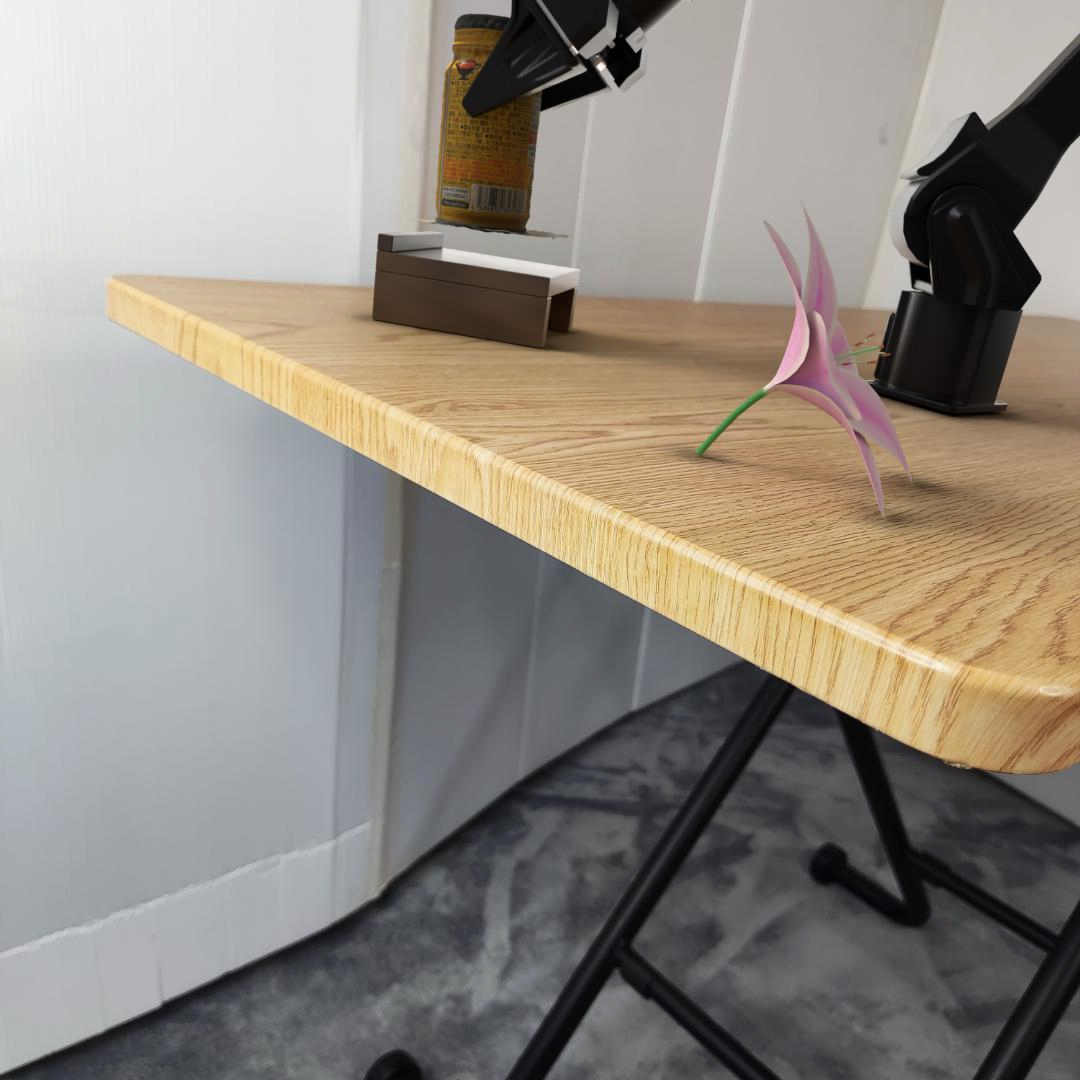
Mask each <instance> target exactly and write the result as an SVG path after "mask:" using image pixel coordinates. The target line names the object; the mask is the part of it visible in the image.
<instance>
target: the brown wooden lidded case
mask: <svg viewBox="0 0 1080 1080" xmlns="http://www.w3.org/2000/svg"><path fill="white" fill-rule="evenodd" d="M444 239H445V233H444V232H441V231H431V230H430V231H429V230H428V231H405V232H381V233H378V234H377V244H376V246H377V247H376V257H375V271H374V283H373V284H374V286H373V298H372V299H373V300H372V313H371V319H372V320H373V321H380V322H385V323H393V324H398V325H403V326H409V327H415V328H421V329H426V330H427V329H428V330H432V331H439V332H443V333H450V334H456V335H462V336H468V337H473V338H479V339H485V340H490V341H495V342H501V343H502V342H503V343H508V344H513V345H514V344H515V345H520V346H526V347H531V348H537V349H541V348H544V347H545V346H546V340H547V333H548V330H553V331H559V332H564V333H569V332H571V331H572V330H573V324H574V317H575V310H576V303H577V296H578V290H579V289H578V287H579V282H580V274H581V269H580V268H573V267H567V266H562V265H555V264H548V263H542V262H537V261H536V262H535V261H529V260H522V259H516V258H510V257H503V256H498V255H492V254H491V255H490V254H486V253H485V254H484V253H478V252H472V251H465V250H459V249H454V248H453V249H452V248H447V247H446V248H445V247H444Z"/></svg>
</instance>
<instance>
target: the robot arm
mask: <svg viewBox="0 0 1080 1080" xmlns="http://www.w3.org/2000/svg"><path fill="white" fill-rule="evenodd" d="M684 1H685V0H511V3H510V4H511V7H510V9H511V10H510V17H509V18H510V20H509V22H508V24H507V26H506V28H505V29H504V31H503V33H502V35H501V37H500V38H499V40H498V42H497V43H496V45H495V47H494V48H493V50H492V52H491V53H490V55H489V57H488V58H487V60H486V62H485V63H484V65H483V66H482V68H481V70H480V71H479V73H478V75H477V76H476V78H475V80H474V81H473V83H472V84H471V86H470V88H469V89H468V91H467V93H466V94H465V96H464V98H463V99H462V102H461V104H462V106H463V108H464V109H465V111H466V112H467V113H468V115H469V116H470V117H473V118H475V117H477V116H480V115H482V114H485V113H488V112H490V111H493V110H495V109H498V108H500V107H502V106H505V105H507V104H509V103H512V102H514V101H517V100H519V99H521V98H524V97H526V96H528V95H531V94H533V93H535V92H538V91H540V90H542V95H541V108H540V115H541V114H545V113H549V112H551V111H555V110H557V109H560V108H564V107H566V106H570V105H573V104H577V103H579V102H583V101H587V100H589V99H590V100H591V99H593V98H596V97H600V96H603V95H609V94H611V93H612V92H613V89H612V87H611V86H610V85H609V83H608V81H607V80H606V78H605V77H604V76H603V74H602V73H601V72H602V71H603V70H604V69H605V68H606V69H607V71H608V73H609V74H610V76H611V77H612V78H613V83H614V84H615V85H616V87H617V88H618V89H619V91H621V92H622V93H623V94H625V93H626V92H627V91H628V90H629V89H630V88H632V87H633V86H634V85H636V83H638V81H640V80H641V79H642V78H643V77H644V76H646V73H647V67H648V61H649V52H648V50H647V49H646V48H645V46H646V45H647V44H648V43H649V42H650V40H649V39H648V37H647V36H646V35H647V34H648V33H650V31H651V30H653V29H654V28H655V27H656V26H657V25H658V24H659V23H660V22H662V21H663V20H664V19H665V18H666V17H667V16H669V14H671V13H672V12H673V11H674V10H676V8H677V7H678V6H680V5H681V4H682V3H683V2H684ZM695 1H696V0H688V2H689V3H690V5H692V4H693V3H694V2H695ZM1078 138H1080V32H1079V33H1078V34H1077V35H1076V36H1075V37H1074V38H1073V39H1072V41H1070V42H1069V44H1067V45H1066V47H1064V48H1063V50H1061V52H1059V54H1058V55H1057V56H1056V57H1055V58H1054V59H1053V60H1052V61H1051V62H1050V63H1049V64H1048V65H1047V66H1046V68H1045V69H1044V70H1043V71H1042V72H1041V73H1040V74H1039V75H1038V76H1037V77H1036V78H1035V79H1034V80H1033V81H1032V82H1031V83H1030V84H1029V85H1028V86H1027V87H1026V88H1025V89H1024V90H1023V92H1021V93H1020V95H1019V96H1018V97H1017V98H1016V99H1014V101H1013V102H1011V103H1010V105H1008V107H1006V108H1005V109H1004V110H1003V111H1002V112H1000V113H999V114H998V115H996V116H995V117H993V118H992V119H991V120H989V121H988V122H986V123H984V122H983V120H982V118H981V117H980V116H979V114H978V113H977V112H976V111H972V112H969V113H968V114H965V115H963V116H961V117H958V118H956V119H954V120H952V121H951V122H949V123H948V125H947V126H946V127H945V128H944V130H943V131H942V133H941V134H940V135H939V137H938V139H937V140H936V141H935V143H934V144H933V145H932V147H931V148H930V150H929V151H928V153H926V155H925V156H924V157H923V158H922V159H921V160H920V161H919V162H918V163H916V164H915V165H914V166H912V167H909V168H908V169H907V170H904V171H902V172H901V173H900V174H899V179H900V180H904V181H908V182H907V183H906V184H905V185H904V186H902V188H901V189H900V191H899V192H898V193H897V195H896V196H895V198H894V199H893V201H892V203H891V205H890V208H889V215H888V232H889V236H890V239H891V243H892V245H893V247H894V248H895V249H896V250H897V252H898V253H899V254H900V256H901V257H903V258H904V259H906V260H907V264H908V275H909V285H910V288H911V289H912V290H908V289H901V290H900V293H899V298H898V302H897V305H896V310H895V311H894V312H891V313H890V314H889V315H888V316H887V317H888V318H887V321H886V325H885V329H884V332H883V336H882V340H881V344H882V345H883V346H884V347H883V349H879V352H884V353H886V354H888V353H890V355H889V356H881V355H882V354H878V356H877V360H876V361H877V363H875V368H874V371H873V377H874V379H865V380H866V381H867V383H868V384H869V385H870V386H871V387H872V388H873V390H874V391H875V392H876V393H877V394H882V395H886V396H889V397H893V398H896V399H899V400H903V401H907V402H910V403H913V404H917V405H920V406H924V407H928V408H931V409H935V410H937V411H941V412H946V413H949V414H969V413H971V414H972V413H988V412H989V413H991V412H1006V411H1007V410H1008V406H1009V403H1007V402H1004V401H1001V400H997V398H998V394H999V390H1000V387H1001V385H1002V381H1003V378H1004V374H1005V371H1006V368H1007V365H1008V361H1009V358H1010V355H1011V351H1012V349H1013V345H1014V342H1015V339H1016V335H1017V332H1018V328H1019V326H1020V322H1021V319H1022V316H1023V313H1024V309H1023V308H1024V306H1025V305H1026V304H1027V302H1028V301H1029V299H1030V297H1031V296H1033V293H1034V292H1035V291H1036V289H1037V288H1038V287H1039V285H1041V282H1042V280H1043V279H1042V278H1043V277H1042V274H1041V272H1040V271H1039V269H1038V267H1037V266H1036V265H1035V263H1034V261H1033V260H1032V258H1031V256H1029V254H1028V252H1027V250H1026V249H1025V248H1024V246H1023V244H1022V243H1021V241H1020V239H1019V238H1018V236H1017V235H1016V233H1015V232H1014V231H1015V230H1016V229H1017V228H1018V227H1019V225H1020V223H1021V222H1022V221H1023V219H1024V218H1025V217H1026V215H1028V213H1029V211H1030V210H1031V209H1032V207H1033V206H1034V205H1035V204H1036V202H1037V201H1038V200H1039V197H1040V196H1041V194H1042V193H1043V191H1044V189H1045V188H1046V186H1047V184H1048V182H1049V180H1050V179H1051V177H1052V175H1053V173H1054V172H1055V170H1056V168H1057V167H1058V166H1059V164H1060V161H1061V160H1062V159H1063V157H1064V155H1066V152H1068V150H1069V149H1070V147H1071V146H1072V145H1073V144H1074V142H1076V141H1077V140H1078Z"/></svg>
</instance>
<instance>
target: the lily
mask: <svg viewBox="0 0 1080 1080" xmlns="http://www.w3.org/2000/svg"><path fill="white" fill-rule="evenodd" d="M799 203H800V206H801V209H802V213H803V215H804V219H805V224H806V226H807V232H808V240H809V252H808V253H809V255H808V266H807V272H806V278H805V286H804V291H803V279H802V276H801V272H800V268H799V266H798V263H797V262H796V259H795V257H794V255H793V253H792V251H791V250H790V249H789V247H788V246H787V244H786V243H785V241H784V240H783V239H782V237H781V236H780V235H779V233H778V232H777V231H776V229H775V228H774V227H773V226H772V224H770V223H769V222H768V221H767V220H764V219H762V222H763V224H764V226H765V229H766V230H767V232H768V235H769V237H770V238H771V240H772V243H773V245H774V247H775V249H776V251H777V254H778V255H779V257H780V260H781V262H782V264H783V266H784V268H785V271H786V273H787V275H788V278H789V281H790V283H791V286H792V289H793V293H794V301H795V308H796V309H795V317H794V322H793V328H792V331H791V334H790V337H789V341H788V343H787V347H786V350H785V353H784V355H783V358H782V361H781V363H780V366H779V368H778V370H777V372H776V374H775V376H774V377H773V378H772V380H771V381H770V382H769V383H767V384H766V385H764V387H762V388H760V389H759V390H758V391H757V392H755V393H754V394H752V395H751V396H749V398H747V399H746V400H744V401H743V402H742V403H741V404H739V405H738V407H736V408H735V409H734V410H733V411H732V412H731V413H730V414H729V415H728V416H727V417H726V418H725V419H724V420H722V421H721V423H719V425H718V426H717V427H716V428H715V429H714V430H713V431H712V432H711V434H710V435H708V437H707V438H706V439H705V440H704V441H703V442H702V443H701V444H700V446H698V448H697V449H696V450H695V453H696V454H697V455H698V456H700V457H702V455H704V453H705V452H707V450H708V449H709V448H710V447H711V446H712V445H713V443H715V441H716V440H717V439H718V438H719V437H720V436H721V435H722V434H723V433H724V432H725V431H726V430H727V429H728V428H729V426H731V425H732V424H733V423H734V422H735V420H737V419H738V418H739V417H740V416H741V415H742V414H744V412H746V411H747V410H748V409H750V408H751V407H752V406H753V405H754V404H756V403H758V402H759V401H760V400H762V399H764V398H765V397H766V396H768V395H769V394H772V393H775V392H785V393H787V394H790V395H792V396H793V397H797V398H799V399H800V400H803V401H804V402H807V403H809V404H811V405H813V406H814V407H817V408H818V409H819V410H821V411H823V412H824V413H826V414H827V415H828V416H830V417H831V418H832V419H834V420H835V421H836V422H837V423H838V424H839V425H840V426H841V427H842V428H843V429H844V430H845V431H846V432H847V434H848V435H849V437H850V438H851V439H852V441H853V442H854V444H855V446H856V448H857V450H858V452H859V454H860V456H861V459H862V461H863V463H864V467H865V470H866V472H867V475H868V478H869V480H870V483H871V486H872V489H873V492H874V495H875V498H876V502H877V504H878V507H879V511H880V513H881V517H882V518H884V517H885V500H884V493H883V486H882V481H881V478H880V472H879V468H878V464H877V461H876V459H875V454H874V452H873V450H872V448H871V447H870V445H869V443H868V441H867V439H869V440H870V441H872V442H874V443H875V444H877V445H878V446H880V447H881V448H882V449H884V450H886V451H887V452H888V453H890V455H892V456H893V458H895V459H896V460H897V461H898V462H899V463H900V464H901V466H902V467H903V469H904V470H905V473H906V474H907V476H908V479H909V480H910V481H911V483H913V480H912V476H911V472H910V467H909V465H908V461H907V458H906V455H905V452H904V449H903V447H902V443H901V440H900V439H899V435H898V433H897V430H896V428H895V425H894V423H893V420H892V419H891V415H890V414H889V411H888V410H887V408H886V406H885V404H884V403H883V401H882V399H881V397H880V396H879V393H878V392H875V391H874V390H873V388H872V387H871V386H870V385H869V384H868V383H867V381H866V380H867V379H865V378H863V377H861V376H860V374H859V369H858V364H860V363H867V364H868V365H870V364H871V365H872V364H876V363H877V360H872V359H866V360H858V361H857V360H856V359H860V358H863V357H867V356H871V355H879V354H882V355H881V356H889V355H890V353H888V354H886V353H884V352H880V351H879V352H873V351H876V350H880V349H883V347H884V346H883V345H882V343H880V344H879V345H876V346H872V347H868V348H864V349H860V350H856V351H853V350H854V349H856V348H857V347H859V346H861V345H863V344H864V343H866V342H868V341H869V340H871V338H872V337H873V336H875V332H873V333H871V334H869V335H868V336H866V337H865V340H863V341H859V342H857V343H855V344H854V345H853V346H852V347H851V346H850V343H849V341H848V336H847V335H846V332H845V328H843V326H842V324H841V322H840V321H839V320H838V318H839V317H838V316H839V303H838V302H839V301H838V290H837V286H836V282H835V278H834V274H833V270H832V267H831V264H830V262H829V259H828V256H827V253H826V251H825V248H824V246H823V243H822V241H821V239H820V237H819V235H818V231H817V230H816V228H815V226H814V223H813V221H812V220H811V217H810V215H809V214H808V212H807V210H806V207H805V206H804V204H803V202H802V201H801V199H799ZM869 352H870V353H869ZM864 353H866V354H864ZM860 354H861V355H860ZM856 355H857V356H856Z"/></svg>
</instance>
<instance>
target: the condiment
mask: <svg viewBox="0 0 1080 1080" xmlns="http://www.w3.org/2000/svg"><path fill="white" fill-rule="evenodd" d="M509 20H510V17H509V16H504V15H496V14H490V13H489V14H488V13H466V14H462V15H460V16H459V17H457V19H456V21H455V23H454V26H453V27H454V37H453V41H454V42H453V44H452V47H451V50H452V54H453V58H452V60H451V61H450V62H449V64H448V65H447V67H446V69H445V72H444V75H443V76H444V82H443V92H442V103H441V122H440V125H439V126H440V132H439V135H440V136H439V138H440V139H439V144H438V149H439V151H438V156H437V160H438V161H437V162H438V163H437V179H436V190H435V209H436V217H435V218H434V219H435V220H433V219H430V220H429V219H424V218H421V217H407V219H408V220H412V221H413V220H414V221H417V222H418V221H419V222H422V223H423V222H424V223H427V224H431V225H439V226H450V227H455V228H466V229H469V230H472V231H479V232H483V233H488V234H489V233H497V234H504V235H518V236H525V237H535V238H542V239H543V238H545V239H547V238H551V239H552V240H555V239H557V238H562V239H568V238H573V236H571V235H567V234H557V233H553V232H550V231H544V230H543V231H542V230H540V231H539V230H535V229H527V227H526V226H527V224H528V222H529V220H530V218H531V205H532V202H531V200H532V195H533V183H534V178H535V164H536V163H535V162H536V158H537V157H536V155H537V154H536V153H537V143H538V133H539V126H540V115H541V114H540V108H541V95H542V90H540V91H538V92H535V93H533V94H531V95H528V96H526V97H524V98H521V99H519V100H517V101H514V102H512V103H509V104H507V105H505V106H502V107H500V108H498V109H495V110H493V111H490V112H488V113H485V114H482V115H480V116H477V117H475V118H473V117H470V116H469V115H468V113H467V112H466V111H465V109H464V108H463V106H462V104H461V102H462V99H463V98H464V96H465V94H466V93H467V91H468V89H469V88H470V86H471V84H472V83H473V81H474V80H475V78H476V76H477V75H478V73H479V71H480V70H481V68H482V66H483V65H484V63H485V62H486V60H487V58H488V57H489V55H490V53H491V52H492V50H493V48H494V47H495V45H496V43H497V42H498V40H499V38H500V37H501V35H502V33H503V31H504V29H505V28H506V26H507V24H508V22H509Z"/></svg>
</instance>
